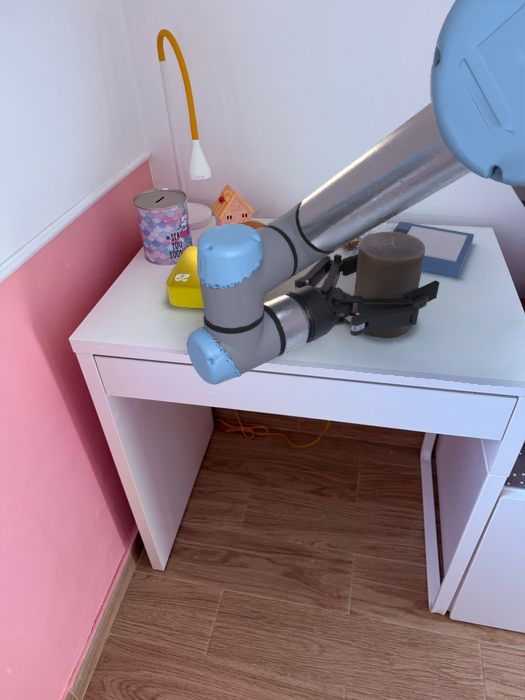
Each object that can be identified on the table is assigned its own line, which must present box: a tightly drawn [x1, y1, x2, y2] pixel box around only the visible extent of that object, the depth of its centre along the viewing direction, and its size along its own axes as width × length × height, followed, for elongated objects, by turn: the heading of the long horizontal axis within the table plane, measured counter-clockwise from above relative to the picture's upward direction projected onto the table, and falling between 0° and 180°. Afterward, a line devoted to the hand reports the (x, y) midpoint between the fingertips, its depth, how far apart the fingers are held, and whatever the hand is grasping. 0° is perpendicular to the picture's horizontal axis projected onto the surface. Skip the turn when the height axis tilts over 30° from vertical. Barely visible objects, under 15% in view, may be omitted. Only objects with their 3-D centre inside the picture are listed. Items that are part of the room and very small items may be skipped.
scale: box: [392, 221, 475, 279], centre depth 102 cm, size 15×14×3 cm
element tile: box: [165, 245, 204, 310], centre depth 93 cm, size 15×15×5 cm
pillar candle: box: [352, 231, 425, 339], centre depth 80 cm, size 10×10×15 cm
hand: (403, 271), depth 81 cm, fingers open, 12 cm apart
